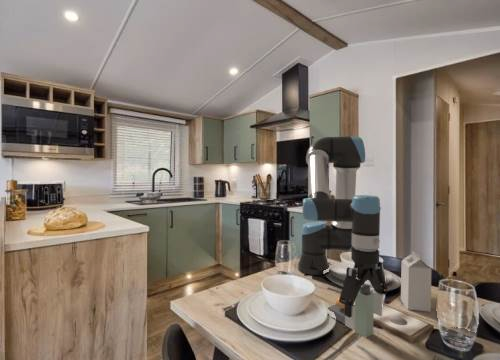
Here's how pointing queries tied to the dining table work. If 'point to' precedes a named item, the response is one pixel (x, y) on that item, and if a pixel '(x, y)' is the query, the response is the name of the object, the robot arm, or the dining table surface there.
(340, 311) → the button base
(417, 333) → the wooden tray
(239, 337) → the dining table surface
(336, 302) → the button
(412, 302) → the milk carton
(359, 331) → the green tall block
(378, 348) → the dining table surface
